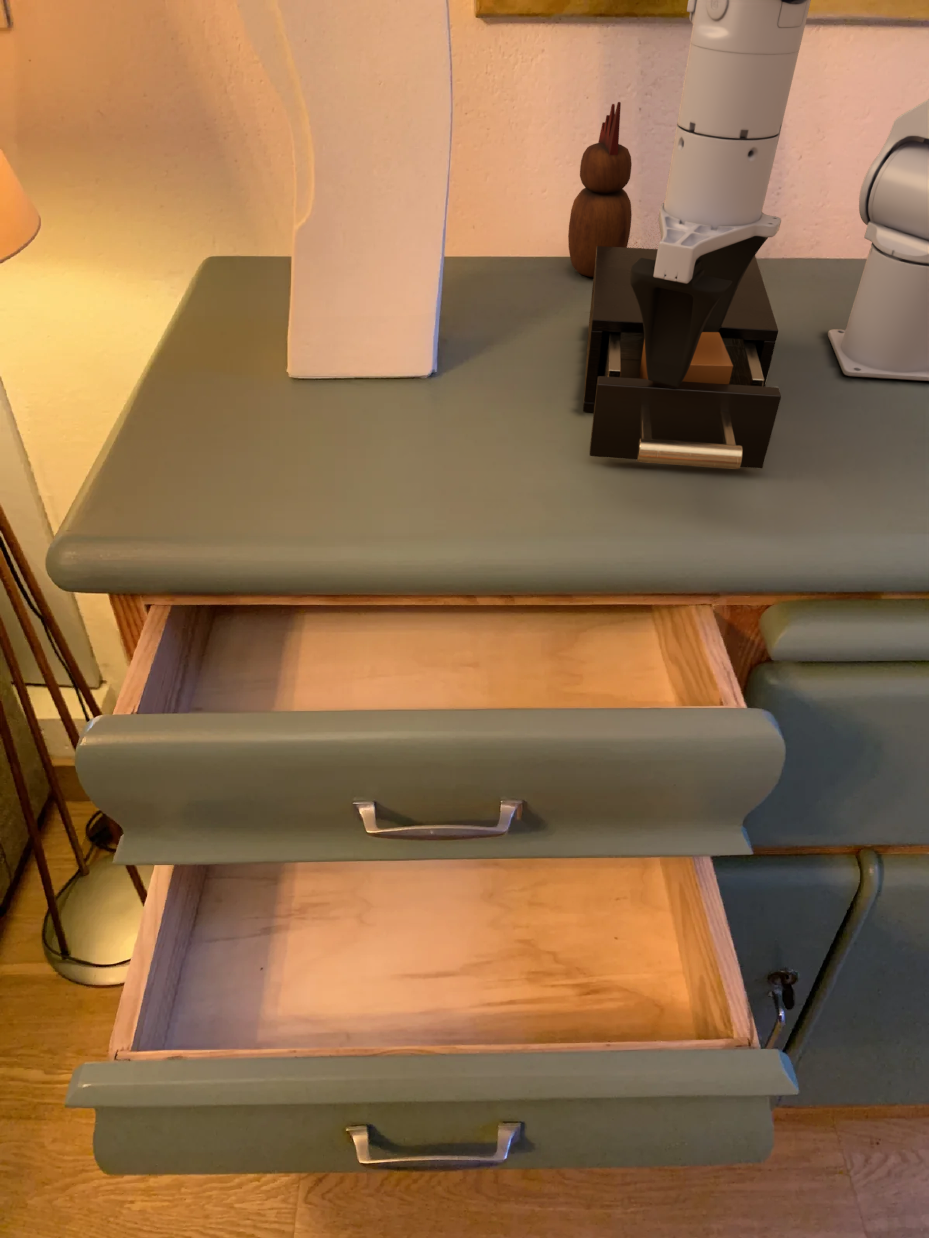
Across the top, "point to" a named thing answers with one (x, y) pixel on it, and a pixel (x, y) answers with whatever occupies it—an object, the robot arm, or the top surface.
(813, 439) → the top surface
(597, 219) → the wooden figurine
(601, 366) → the dark drawer cabinet
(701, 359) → the block
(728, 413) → the black drawer
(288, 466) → the top surface
